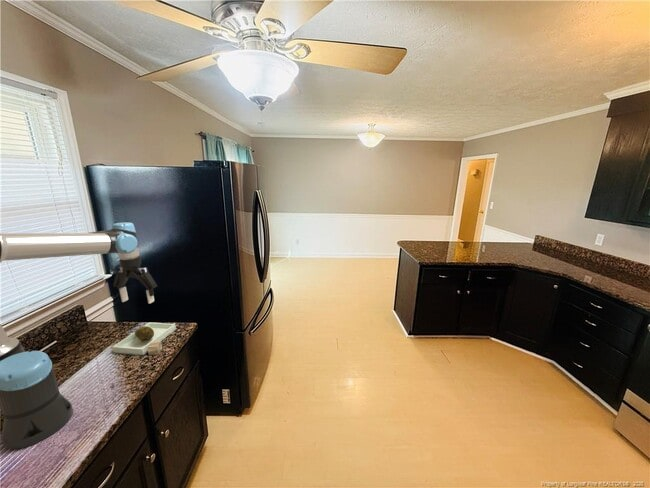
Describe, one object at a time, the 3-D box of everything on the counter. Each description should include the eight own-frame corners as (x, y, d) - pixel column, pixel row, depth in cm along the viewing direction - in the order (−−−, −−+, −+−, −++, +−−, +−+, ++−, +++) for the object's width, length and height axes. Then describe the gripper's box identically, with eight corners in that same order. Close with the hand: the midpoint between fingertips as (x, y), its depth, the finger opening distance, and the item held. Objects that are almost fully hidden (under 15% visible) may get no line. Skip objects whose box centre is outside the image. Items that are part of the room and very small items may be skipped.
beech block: (158, 354, 116) (157, 346, 115) (148, 355, 115) (147, 347, 115) (162, 348, 120) (160, 340, 119) (152, 349, 119) (151, 342, 118)
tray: (143, 355, 115) (142, 349, 115) (113, 352, 117) (112, 346, 117) (176, 329, 136) (175, 324, 135) (150, 327, 138) (149, 322, 137)
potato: (158, 331, 133) (155, 316, 131) (154, 345, 122) (151, 329, 120) (139, 335, 130) (136, 320, 128) (132, 349, 118) (129, 334, 117)
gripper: (161, 255, 118) (168, 299, 123) (112, 254, 122) (121, 296, 127) (148, 260, 111) (156, 306, 116) (97, 259, 114) (107, 303, 119)
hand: (138, 301), depth 121 cm, fingers open, 13 cm apart
